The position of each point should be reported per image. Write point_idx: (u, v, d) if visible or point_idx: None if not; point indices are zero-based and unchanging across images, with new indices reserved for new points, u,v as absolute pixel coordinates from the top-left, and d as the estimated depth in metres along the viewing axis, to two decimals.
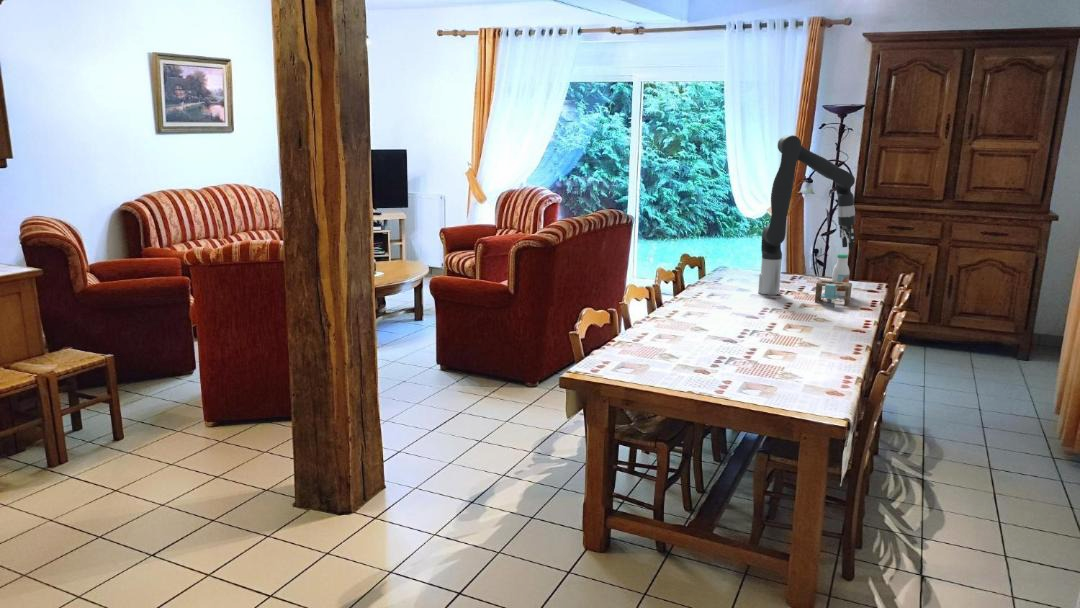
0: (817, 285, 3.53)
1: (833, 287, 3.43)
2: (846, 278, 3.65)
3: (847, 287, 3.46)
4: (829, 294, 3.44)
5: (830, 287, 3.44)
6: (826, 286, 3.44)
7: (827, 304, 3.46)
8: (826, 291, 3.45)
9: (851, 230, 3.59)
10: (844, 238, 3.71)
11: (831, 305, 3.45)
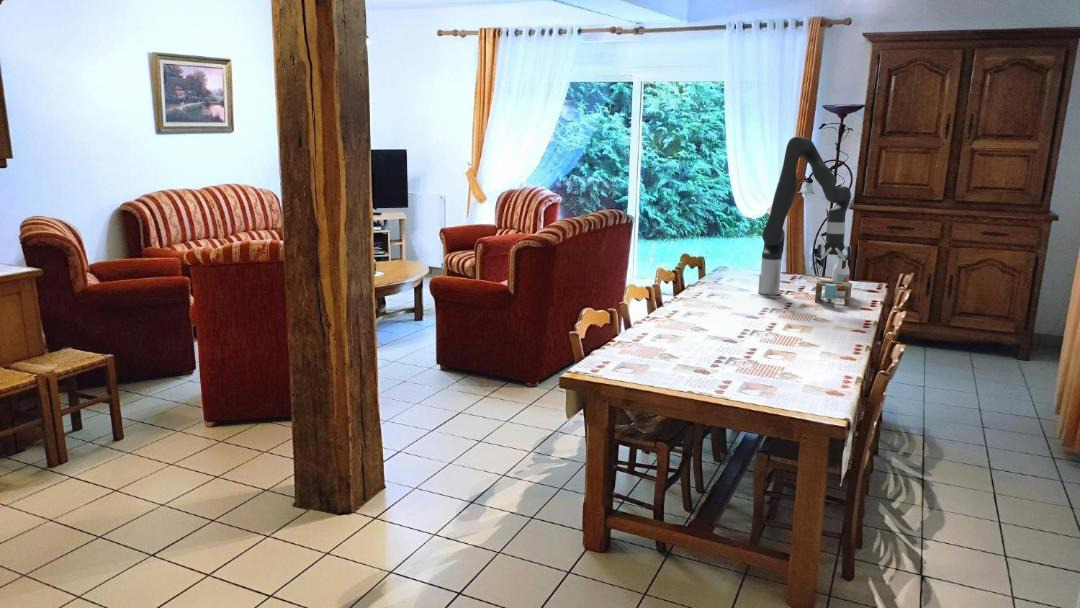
0: (817, 285, 3.53)
1: (833, 287, 3.43)
2: (846, 278, 3.65)
3: (847, 287, 3.46)
4: (829, 294, 3.44)
5: (830, 287, 3.44)
6: (826, 286, 3.44)
7: (827, 304, 3.46)
8: (826, 291, 3.45)
9: None
10: (843, 259, 3.41)
11: (831, 305, 3.45)
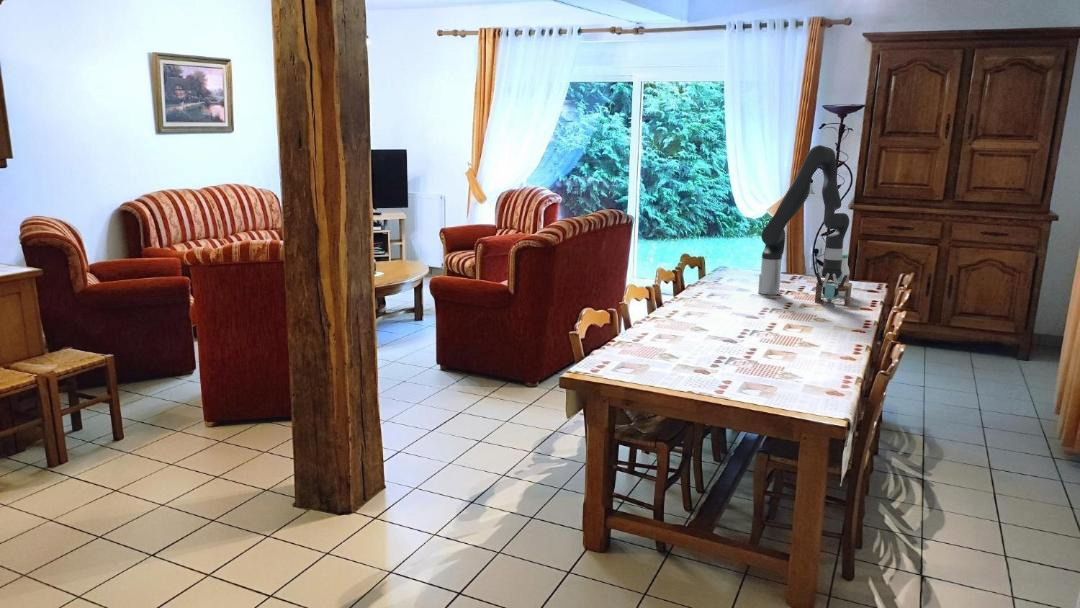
0: (817, 285, 3.53)
1: (833, 287, 3.43)
2: None
3: (847, 287, 3.46)
4: (829, 294, 3.44)
5: (830, 287, 3.44)
6: (826, 286, 3.44)
7: (827, 304, 3.46)
8: (826, 291, 3.45)
9: None
10: None
11: (831, 305, 3.45)
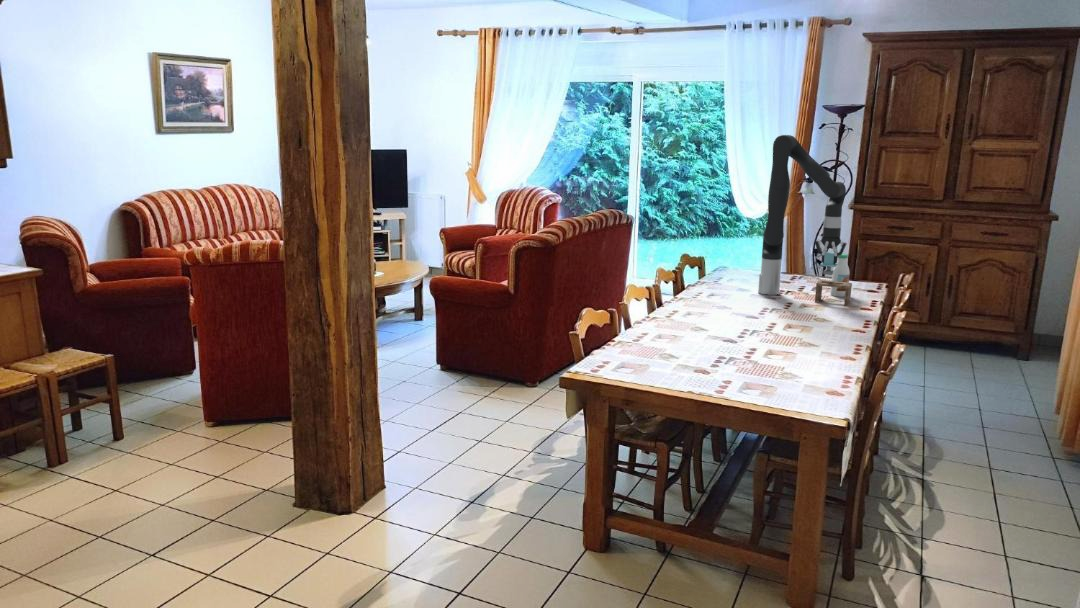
0: (817, 285, 3.53)
1: (832, 255, 3.49)
2: (846, 278, 3.65)
3: (847, 287, 3.46)
4: (829, 262, 3.51)
5: (829, 255, 3.50)
6: (825, 254, 3.51)
7: (826, 272, 3.52)
8: (825, 259, 3.51)
9: None
10: None
11: (830, 273, 3.51)
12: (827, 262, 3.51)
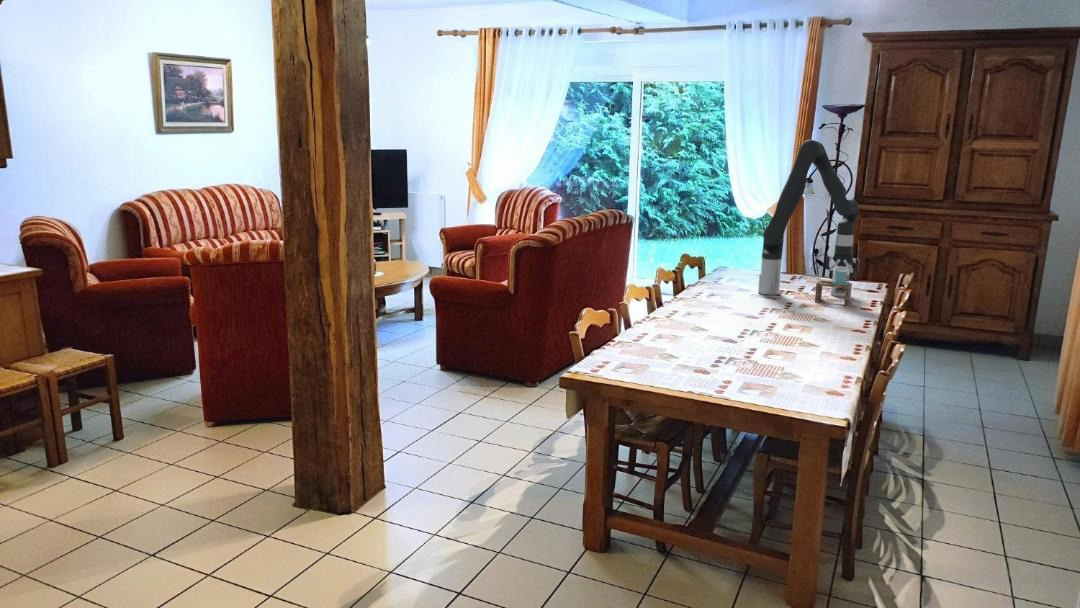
0: (817, 285, 3.53)
1: (844, 273, 3.48)
2: (846, 278, 3.65)
3: (847, 287, 3.46)
4: (840, 280, 3.50)
5: (841, 274, 3.49)
6: (837, 272, 3.50)
7: (838, 290, 3.51)
8: (837, 277, 3.50)
9: None
10: None
11: (842, 291, 3.50)
12: (838, 280, 3.50)
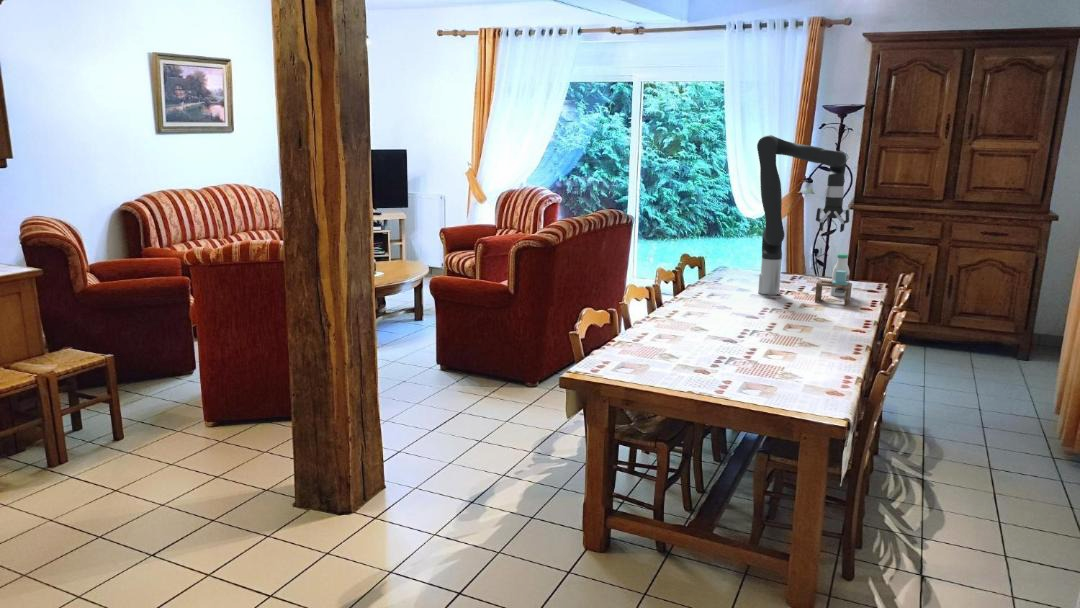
0: (817, 285, 3.53)
1: (844, 273, 3.48)
2: (846, 278, 3.65)
3: (847, 287, 3.46)
4: (840, 280, 3.50)
5: (841, 274, 3.49)
6: (837, 272, 3.50)
7: (838, 290, 3.51)
8: (837, 277, 3.50)
9: None
10: None
11: (842, 291, 3.50)
12: (838, 280, 3.50)
